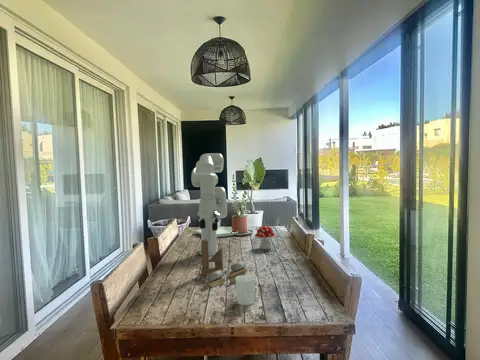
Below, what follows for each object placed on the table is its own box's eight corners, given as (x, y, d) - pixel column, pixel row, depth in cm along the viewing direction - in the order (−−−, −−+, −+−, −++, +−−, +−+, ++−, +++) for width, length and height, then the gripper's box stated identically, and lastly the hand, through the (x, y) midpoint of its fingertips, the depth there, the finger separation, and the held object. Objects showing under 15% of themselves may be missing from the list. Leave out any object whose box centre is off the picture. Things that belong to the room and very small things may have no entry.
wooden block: (222, 276, 176) (221, 240, 175) (201, 275, 177) (200, 240, 176) (223, 273, 180) (222, 239, 179) (202, 273, 181) (201, 239, 180)
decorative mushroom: (251, 250, 225) (251, 227, 225) (258, 245, 238) (258, 223, 237) (272, 251, 220) (272, 228, 219) (278, 246, 233) (278, 224, 232)
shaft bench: (205, 285, 164) (204, 273, 163) (239, 270, 184) (239, 260, 184) (220, 289, 158) (220, 277, 157) (254, 273, 178) (254, 263, 178)
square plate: (206, 240, 259) (206, 235, 259) (193, 234, 283) (193, 229, 283) (239, 236, 272) (238, 231, 271) (224, 230, 296) (224, 225, 296)
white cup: (235, 298, 146) (234, 275, 146) (254, 297, 147) (253, 274, 146) (236, 306, 139) (236, 281, 138) (256, 305, 139) (255, 280, 139)
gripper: (191, 196, 187) (193, 228, 188) (213, 198, 175) (214, 232, 176) (202, 195, 192) (203, 226, 193) (224, 197, 180) (225, 230, 181)
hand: (208, 229), depth 184 cm, fingers open, 9 cm apart
